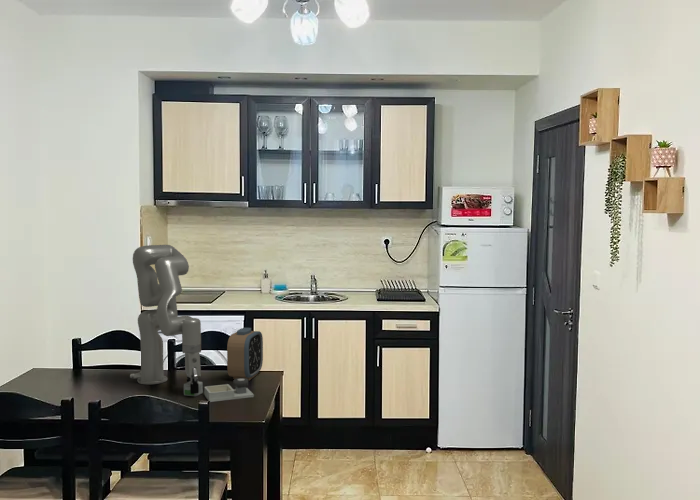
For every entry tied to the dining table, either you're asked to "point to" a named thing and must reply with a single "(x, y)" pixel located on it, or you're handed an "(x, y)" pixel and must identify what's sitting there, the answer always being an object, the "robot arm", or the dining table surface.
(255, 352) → the alarm clock
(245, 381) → the wheel
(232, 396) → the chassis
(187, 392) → the small box
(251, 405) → the dining table surface
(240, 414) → the dining table surface
